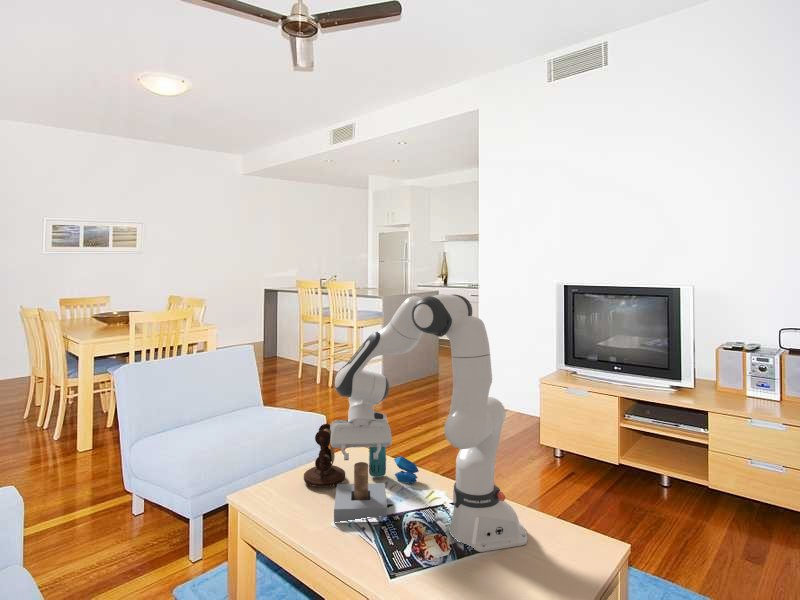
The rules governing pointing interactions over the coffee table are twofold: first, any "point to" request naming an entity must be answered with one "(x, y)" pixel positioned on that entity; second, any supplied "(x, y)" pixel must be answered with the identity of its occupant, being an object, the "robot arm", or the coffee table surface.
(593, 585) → the coffee table surface
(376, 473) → the beverage bottle
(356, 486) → the walnut dowel
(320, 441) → the dark brown ring stand
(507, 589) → the coffee table surface
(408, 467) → the open blue clamshell
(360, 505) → the grey square socket block
